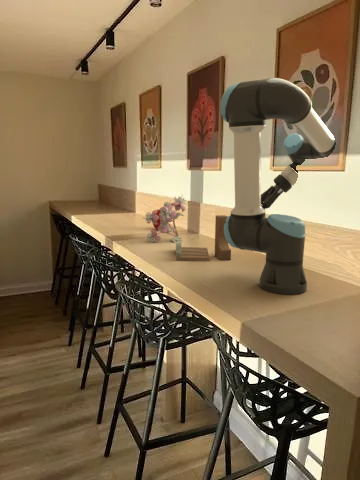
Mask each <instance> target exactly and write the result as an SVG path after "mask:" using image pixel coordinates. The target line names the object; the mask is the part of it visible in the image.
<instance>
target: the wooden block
mask: <svg viewBox="0 0 360 480" xmlns="http://www.w3.org/2000/svg"><path fill="white" fill-rule="evenodd" d="M228 216H229V215H228ZM228 216H227V215H226V214H222V215H219V214H218V215H215V224H214V225H215V227H214V231H215V232H214V257H216V258H218V260H220V261H230V260H231V259H232V249H231V248H230V247H229V243H228V242H227V240H226V238H225V235H224V224H225V223H226V219H227V217H228Z"/></svg>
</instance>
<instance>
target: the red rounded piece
mask: <svg viewBox="0 0 360 480" xmlns="http://www.w3.org/2000/svg"><path fill="white" fill-rule="evenodd" d="M157 211H158V212H157V213H156V215H157V216H159V214H160V208H159V209H157ZM159 217H160V216H159ZM160 222H161V220H160V218H159V219H158V220H157V222H156V223H158V224H157V225H154V224H153V222H152V221H151V223H152V225H153V229H155V230H156V231H159V230H158V227H159V225H160V224H161V223H160ZM162 222H163V221H162Z"/></svg>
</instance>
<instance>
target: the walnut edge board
mask: <svg viewBox="0 0 360 480" xmlns="http://www.w3.org/2000/svg"><path fill="white" fill-rule="evenodd" d="M175 242H176V243H175V261H179V262H210V254H209V250H208V247H195V246H192V247H190V246H188V247H187V246H182V236H180V237H177V240H176V241H175Z"/></svg>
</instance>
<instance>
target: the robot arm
mask: <svg viewBox="0 0 360 480" xmlns="http://www.w3.org/2000/svg"><path fill="white" fill-rule="evenodd" d="M220 114H221V116H222V119H223V120H224V121H225V122H226V123H228V129H229V130H230V131H231V132H232V133H233V158H234V159H233V163H234V167H233V169H234V170H233V171H234V207H233V208H232V209H231V210H230V214H229V215H228V217H227V219H226V223H225V224H224V235H225V238H226V240H227V242H228V245H230V246H231V247H233V248H235V249H240V250H243V251H251V252H256V253H257V252H258V253H262V254H263V253H264V254H265V264H264V267H263V269H262V272H261V274H260V277H259V279H258V286H259V288H261V289H263V290H264V291H266V292H270V293H275V294H280V295H298V294H299V295H300V294H302V293H305V292H306V291H307V290H308V289H307V288H308V281H307V277H306V273H305V269H304V265H303V264H304V255H305V254H304V252H305V240H306V236H307V235H306V223H305V222H304V220H303V219H301V218H299V217H296V216H293V215H287V214H279V213H272V214H268V217H266V209H269V208H271V206H272V205H273V204H274V203H275V201H276V200H277V199H279V197H280V196H281V195H282V194H283V193H288V192H289V190H291V189H292V188H293V186H295V185H296V184H297V183H296V181H297V178H298V174H297V173H298V171H297V170H296V166H297V165H301V164H302V163H303V162H304V161H305V159H317V158H324V157H328V156H329V155H330V154H331V153H332V152H333V150H334V149H335V145H336V142H335V138H334V137H335V135H334V134H332V132H331V131H330V129H328V127H327V125H325V123H324V122H323V121H322V119H321V117H320V116H319V115H318V114H317V112H316V110H314V109H313V102H312V100H311V98H310V96H309V95H308V94H307V93H306V92H305V91H304V90H303V89H301V87H300V86H299V87H298V86H297V85H296V84H295V83H292V82H291V81H289V80H286V79H283V78H280V77H270V78H269V77H268V78H263V79H256V80H249V81H241V82H238V83H235V84H231V85H230V86H228V87H227V88H226V89H225V91H224V93H223V95H222V97H221V100H220ZM267 120H282V121H283V122H284V123H285V124H288V125H292V126H293V127H294V128H295V130H296V131H297V132H298V133H291V134H289V135H288V136H286V138H285V139H284V141H283V148H284V150H285V152H286V154H287V156H288V157H289V159H290V160H291V163H292V162H293V163H292V164H291V163H289V165H288V166H286V167H285V168H284V169H283V170H281V172H280V174H278V175H277V176H276V177H275V178H274V179H273V182H274V184H275V185H270V187H269V188H267V190H265V191H264V192H262V131H263V130H264V129H265V128H266V125H267V124H266V123H267ZM289 166H290V167H289ZM292 168H293V169H294V170H295V171H296V172H297V173H296V172H295V171H294V170H293V169H292ZM295 183H296V184H295ZM294 184H295V185H294Z"/></svg>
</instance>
